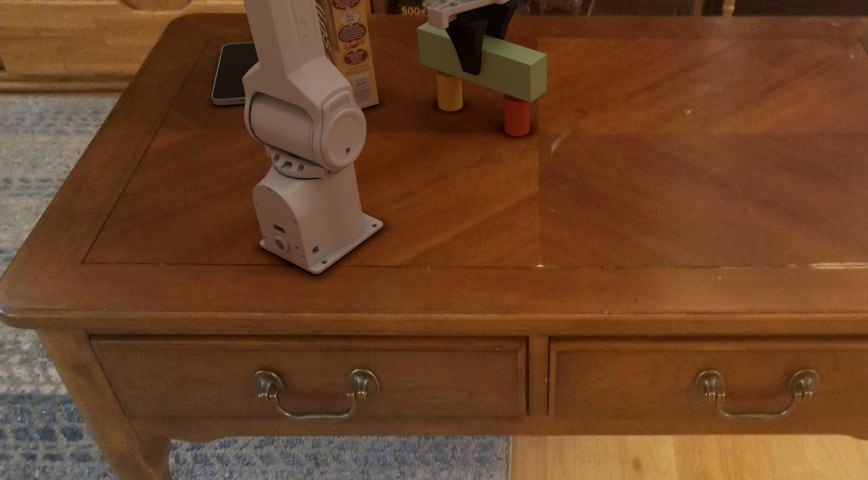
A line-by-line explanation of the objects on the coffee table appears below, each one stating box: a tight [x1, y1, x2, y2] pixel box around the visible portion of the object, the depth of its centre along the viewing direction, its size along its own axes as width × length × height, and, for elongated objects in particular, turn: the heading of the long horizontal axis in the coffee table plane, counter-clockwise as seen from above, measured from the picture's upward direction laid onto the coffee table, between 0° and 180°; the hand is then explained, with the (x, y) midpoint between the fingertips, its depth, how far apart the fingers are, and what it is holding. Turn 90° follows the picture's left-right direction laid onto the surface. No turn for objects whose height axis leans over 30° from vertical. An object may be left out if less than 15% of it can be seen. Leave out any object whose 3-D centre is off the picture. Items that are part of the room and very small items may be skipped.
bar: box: [416, 21, 548, 103], centre depth 97 cm, size 16×3×4 cm, turn 56°
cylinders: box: [435, 69, 531, 137], centre depth 100 cm, size 3×13×4 cm, turn 56°
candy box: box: [315, 0, 380, 110], centre depth 100 cm, size 9×4×15 cm, turn 33°
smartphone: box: [211, 41, 259, 106], centre depth 108 cm, size 7×1×15 cm
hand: (480, 66), depth 97 cm, fingers closed on bar, 3 cm apart
